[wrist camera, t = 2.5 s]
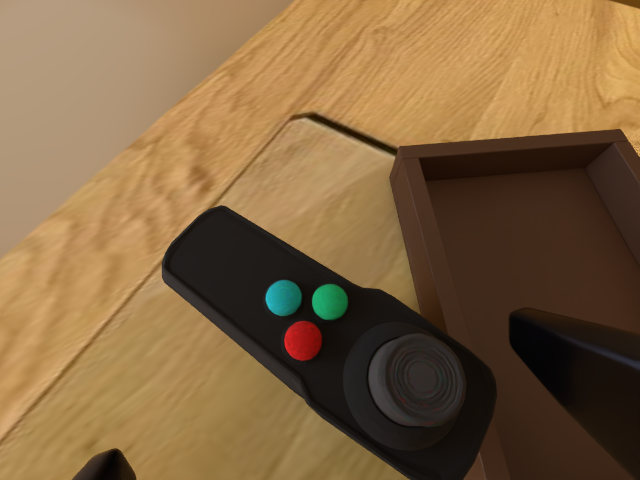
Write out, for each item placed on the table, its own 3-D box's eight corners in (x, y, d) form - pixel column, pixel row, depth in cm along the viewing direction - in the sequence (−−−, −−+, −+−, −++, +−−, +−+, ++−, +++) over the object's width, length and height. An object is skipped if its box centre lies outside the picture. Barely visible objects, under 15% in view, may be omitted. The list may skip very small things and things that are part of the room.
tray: (789, 521, 14) (904, 551, 11) (478, 561, 14) (518, 603, 11) (584, 161, 23) (621, 128, 20) (389, 177, 22) (398, 145, 20)
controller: (395, 466, 15) (503, 568, 6) (202, 315, 18) (86, 237, 9) (436, 383, 17) (570, 368, 8) (252, 257, 20) (194, 141, 11)
